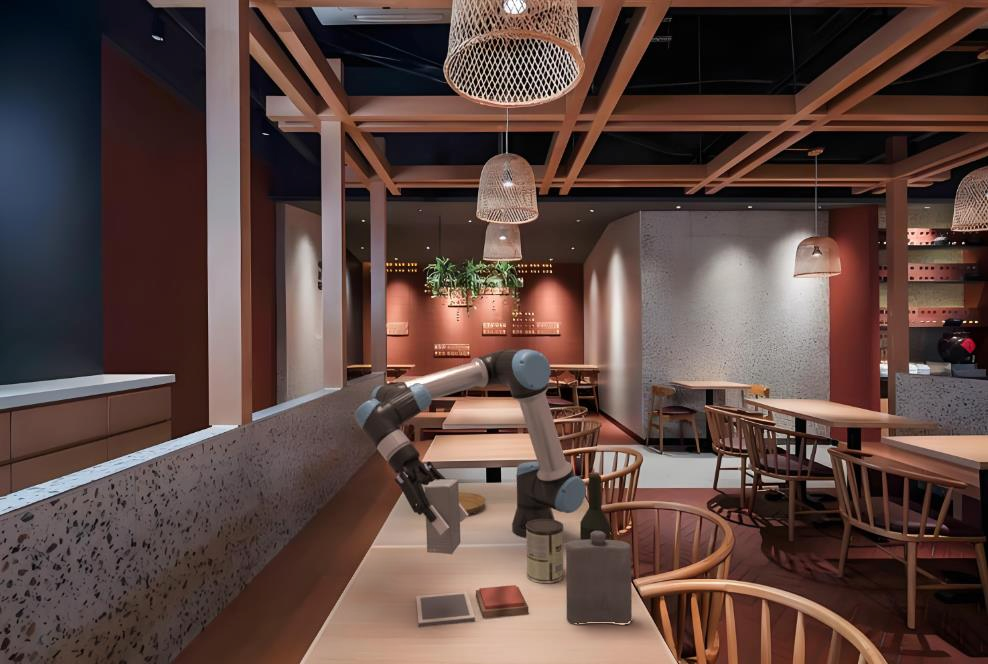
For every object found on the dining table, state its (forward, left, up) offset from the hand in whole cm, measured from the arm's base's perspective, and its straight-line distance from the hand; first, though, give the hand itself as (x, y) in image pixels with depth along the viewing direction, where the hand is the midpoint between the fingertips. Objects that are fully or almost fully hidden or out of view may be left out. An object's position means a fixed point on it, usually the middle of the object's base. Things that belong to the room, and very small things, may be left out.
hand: (455, 524), depth 131 cm
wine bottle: (-37, -6, -21) cm, 43 cm away
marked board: (+3, -2, -21) cm, 21 cm away
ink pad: (-11, -2, -21) cm, 24 cm away
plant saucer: (-8, -81, -22) cm, 84 cm away
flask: (-32, +9, -21) cm, 40 cm away
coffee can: (-26, -16, -21) cm, 38 cm away
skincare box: (+3, -2, -6) cm, 7 cm away
